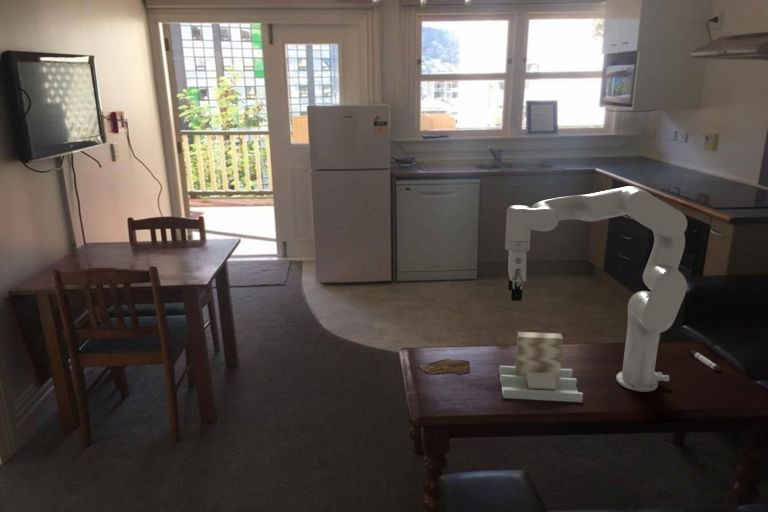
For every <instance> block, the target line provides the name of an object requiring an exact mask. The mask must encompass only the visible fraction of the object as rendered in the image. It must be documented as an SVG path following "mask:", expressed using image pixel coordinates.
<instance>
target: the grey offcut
mask: <svg viewBox="0 0 768 512" xmlns="http://www.w3.org/2000/svg"><path fill="white" fill-rule="evenodd" d="M527 382H528V386H529V388H538V389H555V385H556V382H555V379H554V376H553V373H540V372H527Z"/></svg>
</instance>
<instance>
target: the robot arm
mask: <svg viewBox="0 0 768 512" xmlns="http://www.w3.org/2000/svg"><path fill="white" fill-rule="evenodd" d="M621 216H628V217H631V219H632V220H635V221H636V222H638V223H639V224H641V225H642V226H644V227H646V228H648V229H649V230H651V231H652V233H653V237H654V238H653V239H654V240H653V241H654V242H653V246H652V248H651V252H650V256H649V258H648V261H647V263H646V265H645V268H644V270H643V273H642V281H643V283H644V285H645V286H646V287H647V288H648V289H649V290H650V291H648V290H641V291H637V292H635V293H634V294H633V295H631V296H630V298H629V300H628V303H627V329H626V338H625V346H624V354H623V362H622V371H619V372H618V373H617V374H616V378H615V379H616V382H617V383H618V384H619V385H620V386H622V387H624V388H625V389H628V390H631V391H636V392H641V393H642V392H646V393H647V392H648V393H649V392H653V391H655V390H656V389H658V385H659V383H658V382H660V381H661V382H662V381H663V382H669V381H670V375H667V374H663V372H661V371H658V372H656V371H655V370H656V369H655V368H656V361H657V354H658V347H659V342H660V341H659V340H660V334H661V333H663V332H664V333H665V332H666V331H668V329H670V328H671V327H672V326H673V324H674V322H675V320H676V317H677V315H678V313H679V310H680V308H681V305H682V303H683V301H684V298H685V295H686V292H687V286H688V285H687V280H686V278H685V276H684V275H683V273H682V272H680V271H679V265H680V263H681V260H682V257H683V254H684V251H685V246H686V236H685V232H686V231H687V228H688V219H687V217H686V215H685V214H684V213H683V212H682V211H679V210H678V209H677V208H674V207H673V206H671V205H670V204H668V203H667V202H664V201H663V200H661V199H659V198H658V197H656V196H654V195H653V194H651V193H650V192H648V191H647V190H645V189H642V188H640V187H637V186H634V185H629V186H623V187H618V188H612V189H607V190H604V191H603V190H602V191H599V192H598V191H597V192H593V193H588V194H577V195H569V196H561V197H555V198H551V199H545V200H541V201H538V202H535V203H534V204H533V205H531V207H530V206H528V205H522V204H515V205H510V206H509V207H508V208H507V209H506V223H505V226H506V227H505V245H504V249H505V250H506V251H508V259H507V260H508V261H507V262H508V263H507V266H508V267H507V268H508V269H507V270H508V271H507V272H508V276H509V278H508V290H509V291H511V295H510V296H511V297H510V300H511V301H514V302H521V301H522V300H523V282H526V281H527V252H528V251H530V246H531V245H530V244H531V230H533V231H539V232H549V231H552V230H554V229H555V228H556V227H558V224H559V221H563V220H578V221H579V220H580V221H583V222H596V221H597V222H598V221H601V220H606V219H612V218H616V217H621Z"/></svg>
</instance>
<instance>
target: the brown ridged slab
mask: <svg viewBox="0 0 768 512" xmlns="http://www.w3.org/2000/svg"><path fill="white" fill-rule="evenodd" d="M426 365H427V366H426ZM428 366H431V367H434V368H430V367H428ZM419 367H420V368H421V369H422V370H424V371H423V372H425V371H426V372H427V373H426V372H425V373H426V374H429V373H430V374H432V375H436V374H447V373H448V372H449V373H452V374H453V373H454V374H458V375H459V374H461V375H462V374H467V373H471V370H470V369H471V367H470V361H469V360H463V359H451V358H446V359H441V360H437V361H433V362H429V363H426V364H422V365H419V366H418V368H419ZM420 368H419V369H420ZM421 369H420V370H421ZM422 370H421V371H422ZM430 374H429V375H430Z"/></svg>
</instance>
